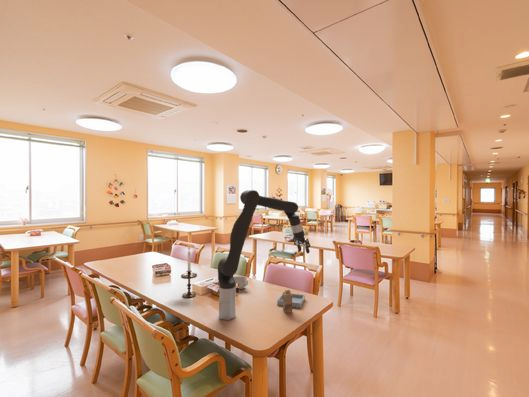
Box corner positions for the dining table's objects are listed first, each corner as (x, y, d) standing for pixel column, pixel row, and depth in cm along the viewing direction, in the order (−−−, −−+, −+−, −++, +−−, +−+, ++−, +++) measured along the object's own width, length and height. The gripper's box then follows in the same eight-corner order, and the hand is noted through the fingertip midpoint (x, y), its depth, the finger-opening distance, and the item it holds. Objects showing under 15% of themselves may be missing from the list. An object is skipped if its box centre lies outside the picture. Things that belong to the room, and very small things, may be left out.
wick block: (292, 312, 157) (292, 291, 157) (284, 313, 156) (284, 291, 156) (290, 309, 161) (290, 288, 161) (283, 310, 161) (283, 289, 161)
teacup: (229, 287, 200) (229, 277, 200) (241, 284, 207) (241, 274, 207) (240, 292, 190) (240, 281, 190) (252, 289, 197) (252, 278, 197)
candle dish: (300, 308, 163) (300, 303, 163) (277, 304, 168) (277, 300, 168) (305, 299, 177) (305, 294, 177) (283, 296, 182) (283, 292, 182)
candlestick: (192, 299, 178) (192, 247, 177) (177, 297, 180) (177, 246, 180) (199, 293, 188) (199, 244, 188) (185, 292, 190) (185, 243, 190)
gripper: (287, 231, 182) (293, 252, 185) (300, 233, 170) (307, 256, 173) (295, 227, 186) (301, 247, 189) (308, 228, 174) (315, 251, 177)
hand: (304, 251), depth 181 cm, fingers open, 8 cm apart
